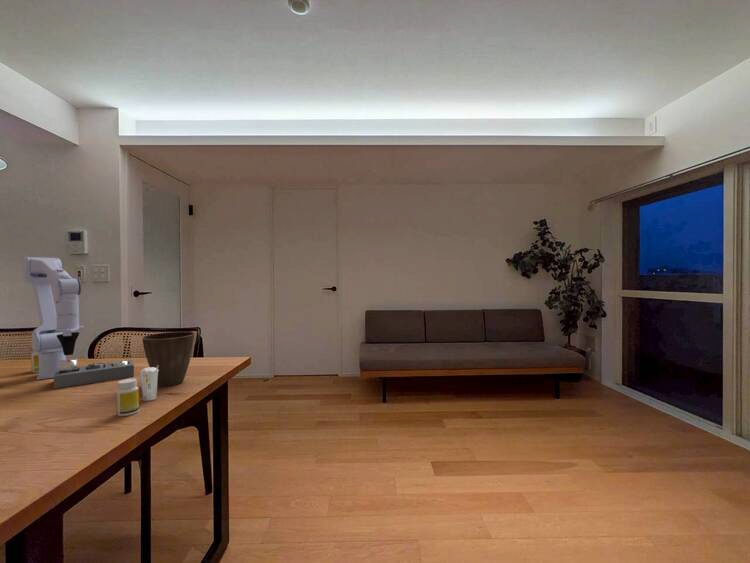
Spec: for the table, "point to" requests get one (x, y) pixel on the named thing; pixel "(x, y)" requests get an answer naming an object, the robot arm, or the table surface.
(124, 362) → the knob
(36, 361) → the supplement bottle
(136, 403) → the supplement bottle
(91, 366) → the knob middle
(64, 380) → the control panel
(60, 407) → the table surface
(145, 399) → the milkshake
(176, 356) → the plant pot
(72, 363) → the knob
